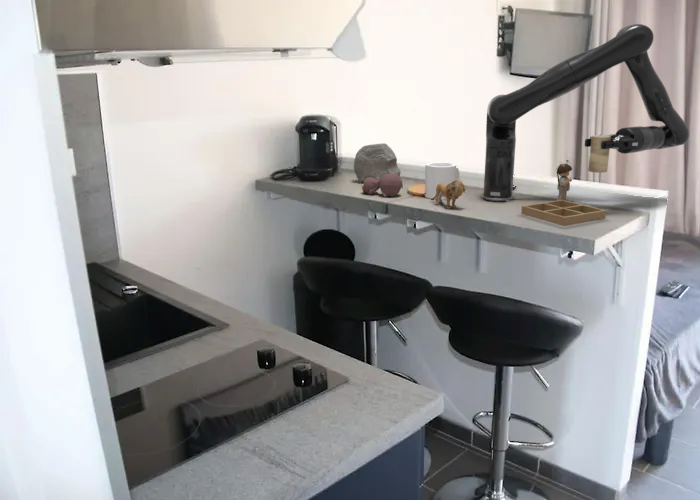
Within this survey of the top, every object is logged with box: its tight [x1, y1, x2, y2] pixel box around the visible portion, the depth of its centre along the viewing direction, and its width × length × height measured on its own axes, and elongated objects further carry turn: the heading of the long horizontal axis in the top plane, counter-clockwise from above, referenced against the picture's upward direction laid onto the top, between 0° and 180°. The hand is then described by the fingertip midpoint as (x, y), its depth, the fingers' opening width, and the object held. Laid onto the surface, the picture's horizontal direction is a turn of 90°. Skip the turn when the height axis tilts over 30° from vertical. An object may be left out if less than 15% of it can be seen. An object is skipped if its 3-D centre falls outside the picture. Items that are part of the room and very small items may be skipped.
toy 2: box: [554, 157, 573, 201], centre depth 199 cm, size 6×6×15 cm
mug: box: [424, 161, 461, 200], centre depth 213 cm, size 14×10×11 cm
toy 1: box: [361, 173, 404, 198], centre depth 216 cm, size 8×8×15 cm
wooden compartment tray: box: [520, 199, 607, 227], centre depth 183 cm, size 16×16×3 cm
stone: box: [353, 142, 402, 182], centre depth 234 cm, size 19×7×15 cm, turn 53°
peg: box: [587, 134, 611, 174], centre depth 183 cm, size 5×5×10 cm
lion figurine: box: [430, 179, 468, 210], centre depth 199 cm, size 15×5×9 cm, turn 33°
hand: (594, 144), depth 181 cm, fingers closed on peg, 5 cm apart
